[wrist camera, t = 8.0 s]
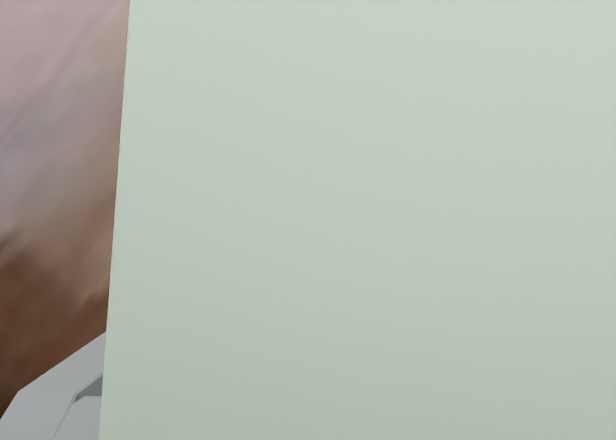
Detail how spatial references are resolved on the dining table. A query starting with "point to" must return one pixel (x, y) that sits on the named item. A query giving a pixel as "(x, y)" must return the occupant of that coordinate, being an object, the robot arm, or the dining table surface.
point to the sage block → (365, 222)
